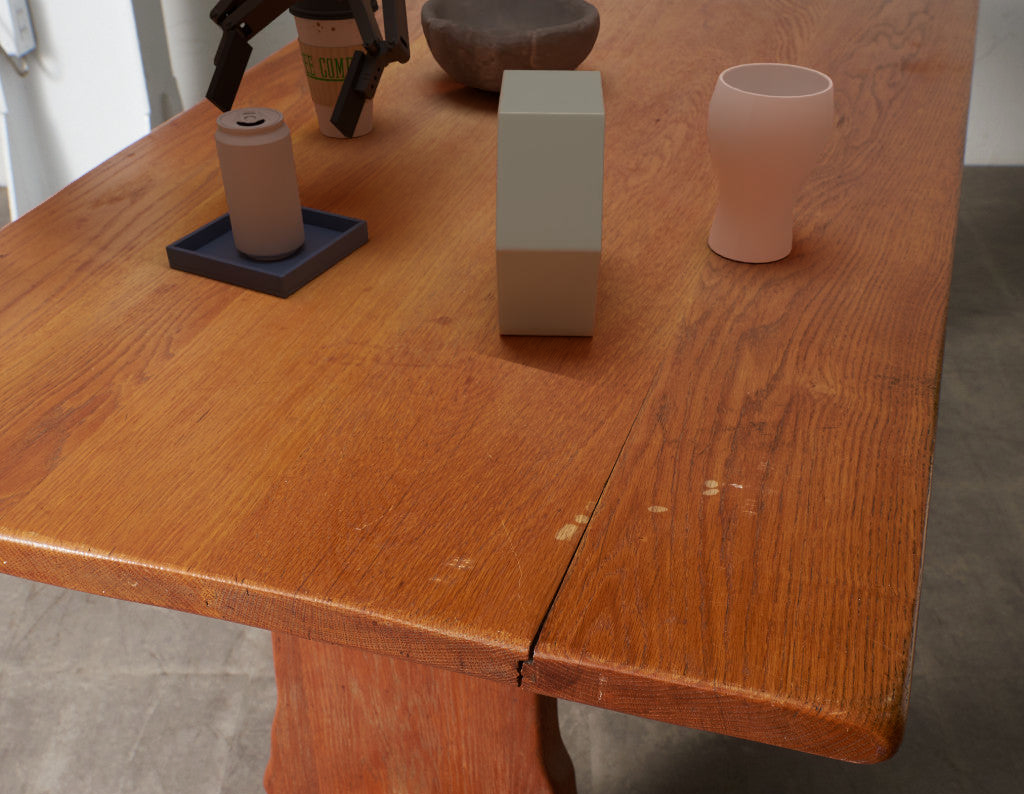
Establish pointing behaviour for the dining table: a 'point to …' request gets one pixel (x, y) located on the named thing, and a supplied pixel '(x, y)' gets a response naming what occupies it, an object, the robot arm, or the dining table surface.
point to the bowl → (508, 37)
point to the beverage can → (260, 182)
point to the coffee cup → (329, 56)
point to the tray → (221, 260)
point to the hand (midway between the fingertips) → (277, 117)
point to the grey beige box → (549, 201)
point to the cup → (764, 153)
